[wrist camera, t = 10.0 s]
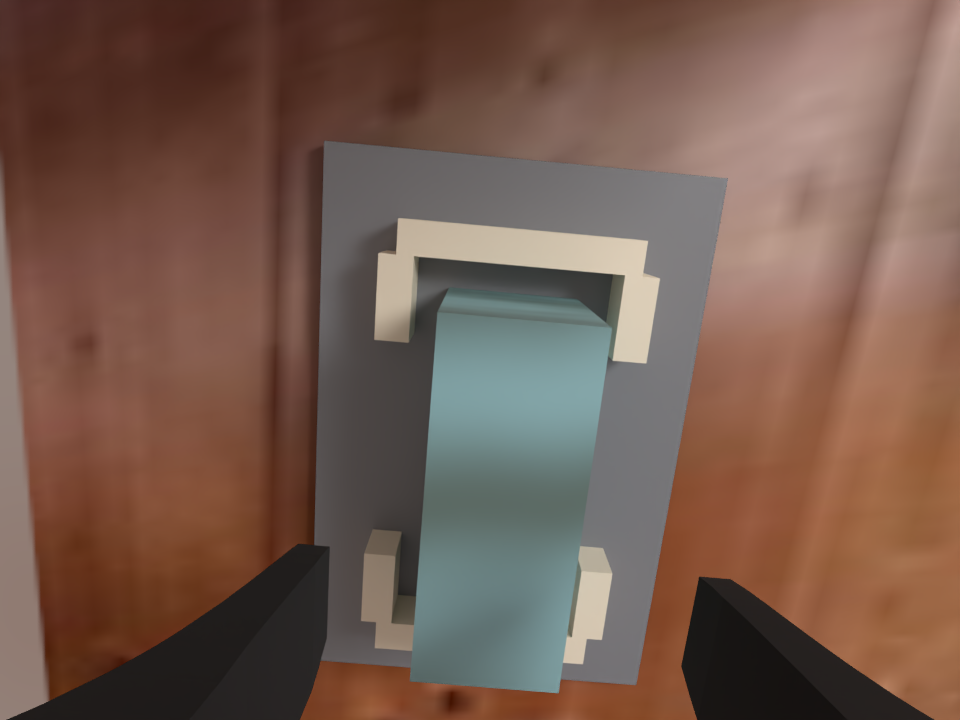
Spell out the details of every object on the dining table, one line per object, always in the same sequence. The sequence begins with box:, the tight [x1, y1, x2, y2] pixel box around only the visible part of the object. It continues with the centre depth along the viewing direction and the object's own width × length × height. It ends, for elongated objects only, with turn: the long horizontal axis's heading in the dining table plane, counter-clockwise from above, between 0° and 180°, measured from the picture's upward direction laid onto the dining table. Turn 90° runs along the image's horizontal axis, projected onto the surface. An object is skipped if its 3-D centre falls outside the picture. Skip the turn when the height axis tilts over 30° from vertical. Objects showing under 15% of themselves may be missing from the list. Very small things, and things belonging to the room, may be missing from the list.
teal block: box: [410, 287, 612, 693], centre depth 17 cm, size 10×4×5 cm, turn 175°
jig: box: [314, 141, 728, 685], centre depth 19 cm, size 18×12×2 cm, turn 175°
